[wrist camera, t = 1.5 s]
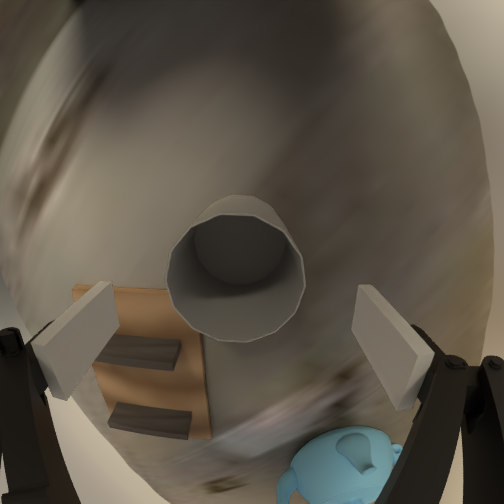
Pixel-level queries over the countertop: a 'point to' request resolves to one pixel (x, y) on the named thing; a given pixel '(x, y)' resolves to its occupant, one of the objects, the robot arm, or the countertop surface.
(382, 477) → the teapot
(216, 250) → the cup
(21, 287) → the countertop surface
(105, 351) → the end holder
